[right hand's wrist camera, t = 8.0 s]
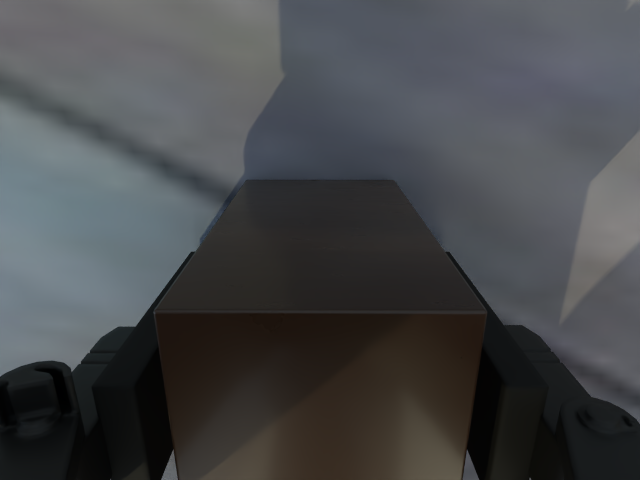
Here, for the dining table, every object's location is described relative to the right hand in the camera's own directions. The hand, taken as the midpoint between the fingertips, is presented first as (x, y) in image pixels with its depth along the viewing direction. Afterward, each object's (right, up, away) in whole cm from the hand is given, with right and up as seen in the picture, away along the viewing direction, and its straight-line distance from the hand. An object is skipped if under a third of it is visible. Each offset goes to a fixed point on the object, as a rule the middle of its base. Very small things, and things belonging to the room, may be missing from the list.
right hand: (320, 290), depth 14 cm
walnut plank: (0, -9, +3) cm, 9 cm away
